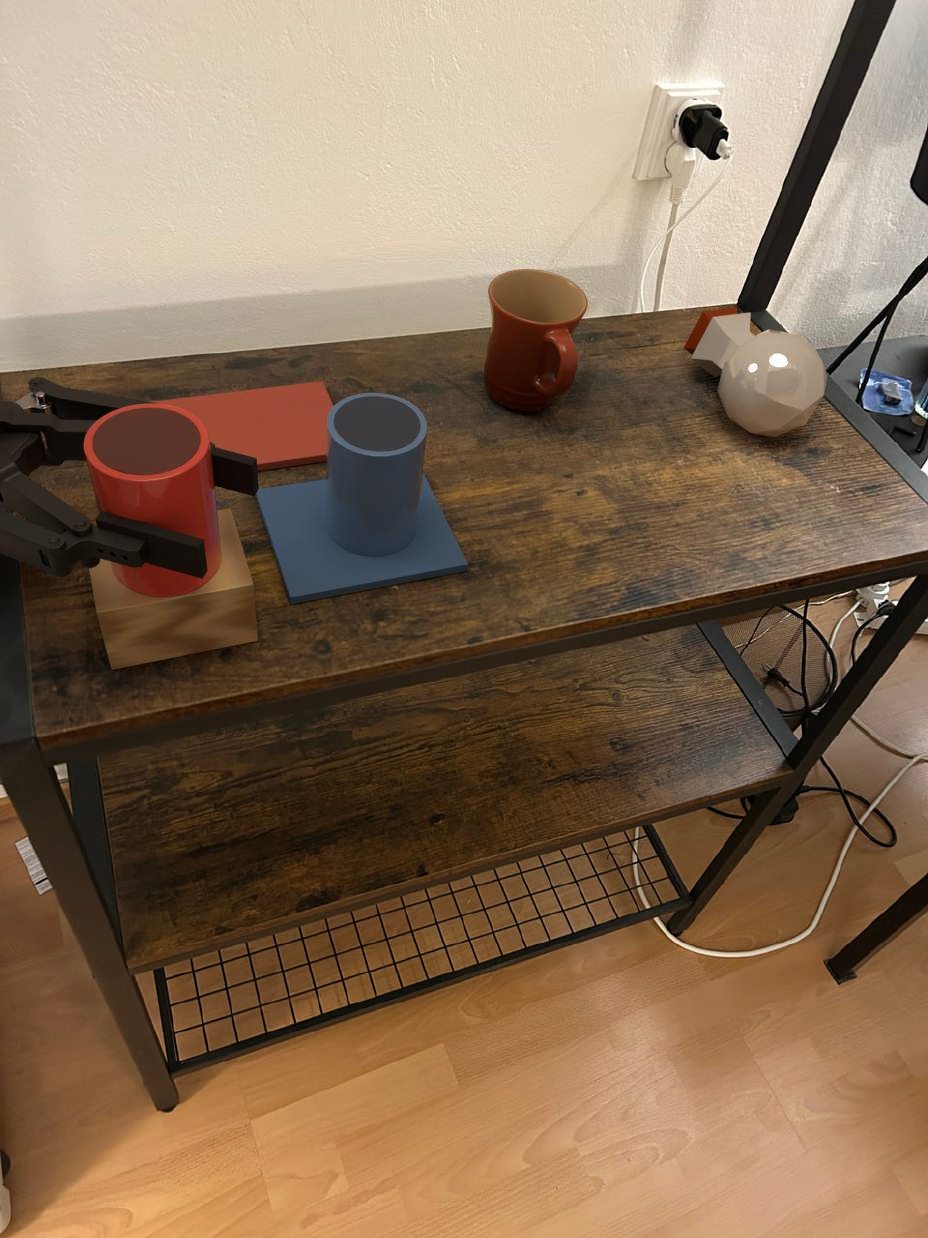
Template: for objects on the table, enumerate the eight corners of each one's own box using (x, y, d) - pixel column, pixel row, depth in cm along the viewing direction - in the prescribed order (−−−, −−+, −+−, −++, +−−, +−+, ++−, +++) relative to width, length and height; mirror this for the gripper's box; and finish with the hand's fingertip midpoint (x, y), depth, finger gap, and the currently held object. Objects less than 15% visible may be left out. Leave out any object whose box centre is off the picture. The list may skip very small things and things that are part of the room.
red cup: (118, 606, 62) (90, 488, 54) (104, 529, 66) (76, 410, 59) (231, 585, 64) (219, 469, 57) (211, 512, 68) (197, 395, 61)
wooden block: (111, 670, 66) (96, 612, 61) (98, 590, 70) (83, 531, 66) (258, 641, 69) (253, 584, 64) (236, 565, 73) (230, 507, 69)
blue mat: (290, 604, 72) (290, 597, 71) (255, 496, 79) (254, 489, 78) (467, 571, 76) (468, 563, 75) (418, 471, 83) (419, 464, 82)
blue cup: (339, 563, 74) (342, 462, 66) (316, 500, 78) (315, 398, 70) (429, 547, 76) (441, 447, 68) (401, 487, 80) (409, 386, 73)
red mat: (109, 493, 77) (107, 485, 76) (94, 416, 83) (92, 408, 82) (352, 457, 83) (352, 450, 82) (322, 387, 89) (322, 380, 88)
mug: (460, 371, 93) (473, 273, 85) (542, 360, 96) (562, 264, 88) (509, 450, 86) (528, 351, 78) (596, 435, 89) (622, 338, 81)
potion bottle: (770, 474, 90) (686, 394, 100) (860, 409, 89) (765, 334, 99) (743, 411, 83) (656, 332, 93) (839, 340, 82) (740, 267, 92)
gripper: (0, 387, 72) (291, 464, 70) (-188, 571, 59) (164, 673, 57) (-27, 296, 66) (289, 377, 64) (-242, 478, 53) (146, 587, 51)
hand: (230, 516), depth 61 cm, fingers closed on red cup, 7 cm apart
